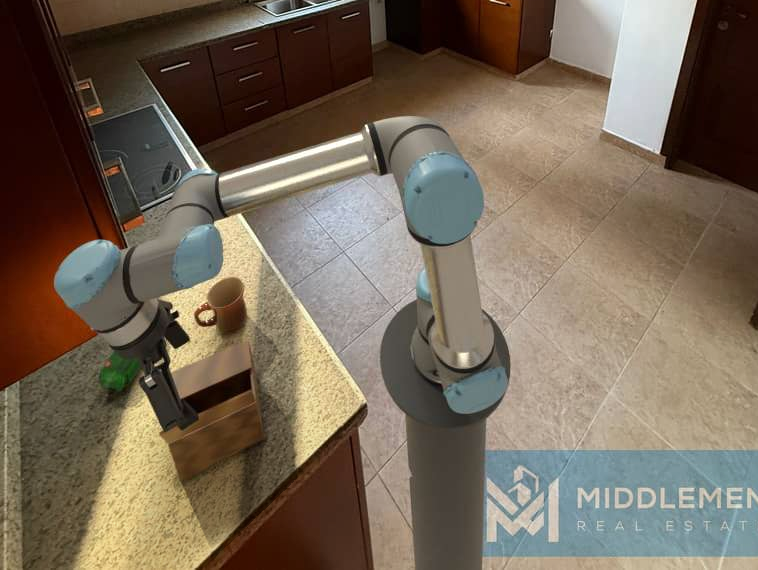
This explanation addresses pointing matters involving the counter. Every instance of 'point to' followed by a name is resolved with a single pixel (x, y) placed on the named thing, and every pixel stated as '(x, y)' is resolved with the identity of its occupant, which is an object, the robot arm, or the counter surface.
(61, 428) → the counter surface
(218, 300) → the mug
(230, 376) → the carton
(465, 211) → the robot arm
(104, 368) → the snack package
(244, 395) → the flap
